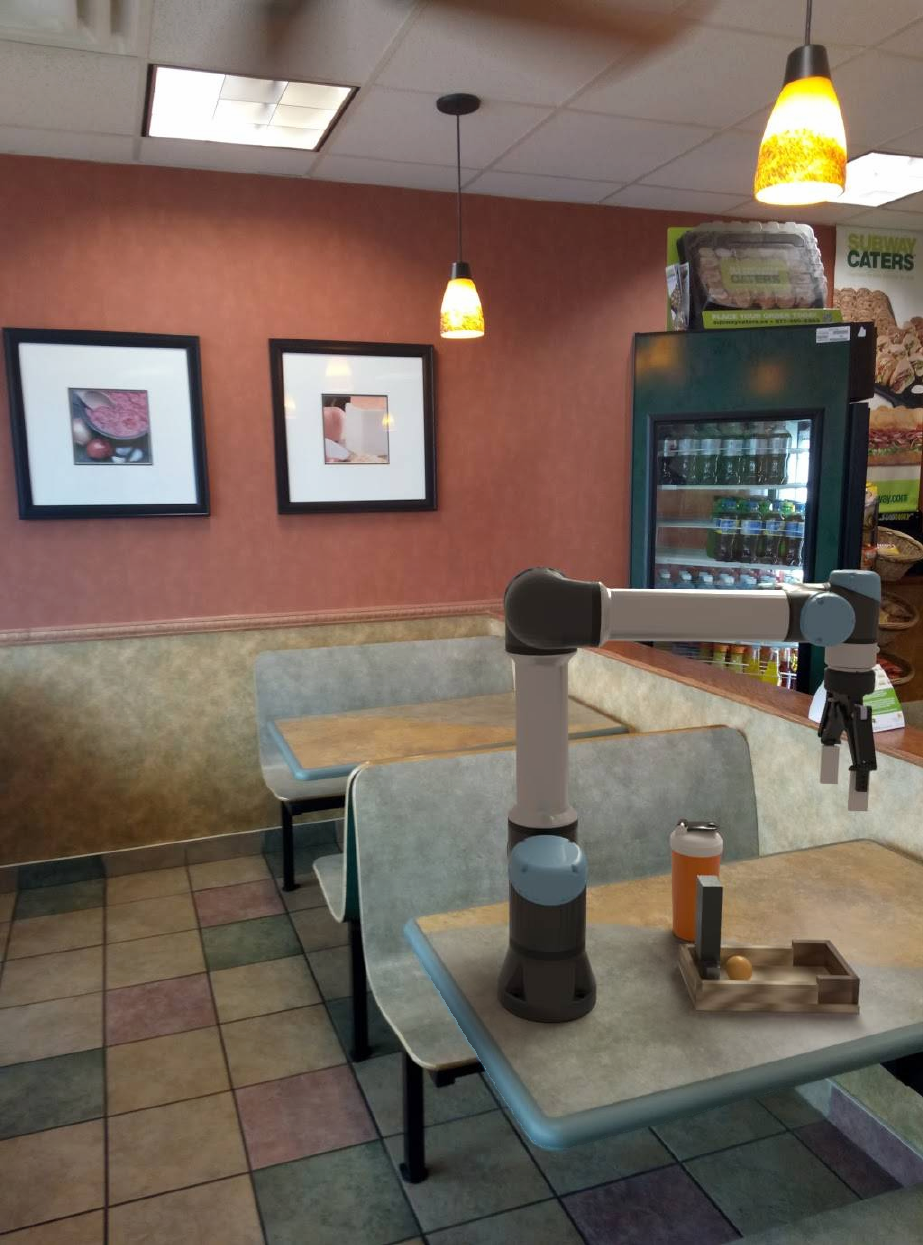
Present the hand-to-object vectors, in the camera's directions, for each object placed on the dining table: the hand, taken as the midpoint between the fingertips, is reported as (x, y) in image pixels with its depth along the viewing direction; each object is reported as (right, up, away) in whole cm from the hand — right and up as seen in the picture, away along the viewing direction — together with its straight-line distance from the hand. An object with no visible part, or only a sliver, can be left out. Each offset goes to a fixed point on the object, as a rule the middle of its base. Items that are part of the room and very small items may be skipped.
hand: (842, 796), depth 146 cm
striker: (-24, -27, -6) cm, 37 cm away
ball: (-19, -26, -6) cm, 32 cm away
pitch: (-15, -29, -6) cm, 33 cm away
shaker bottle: (-21, -27, +12) cm, 36 cm away
